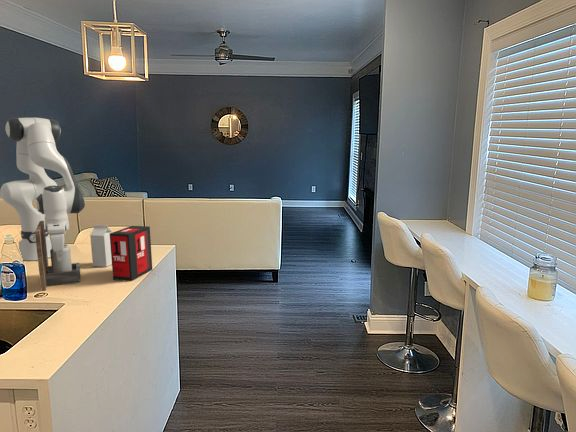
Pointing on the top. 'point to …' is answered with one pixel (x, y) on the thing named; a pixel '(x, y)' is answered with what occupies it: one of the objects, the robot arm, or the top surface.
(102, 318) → the top surface
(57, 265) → the can
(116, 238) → the cleaning product box
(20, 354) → the top surface
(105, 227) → the milk carton
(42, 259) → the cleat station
